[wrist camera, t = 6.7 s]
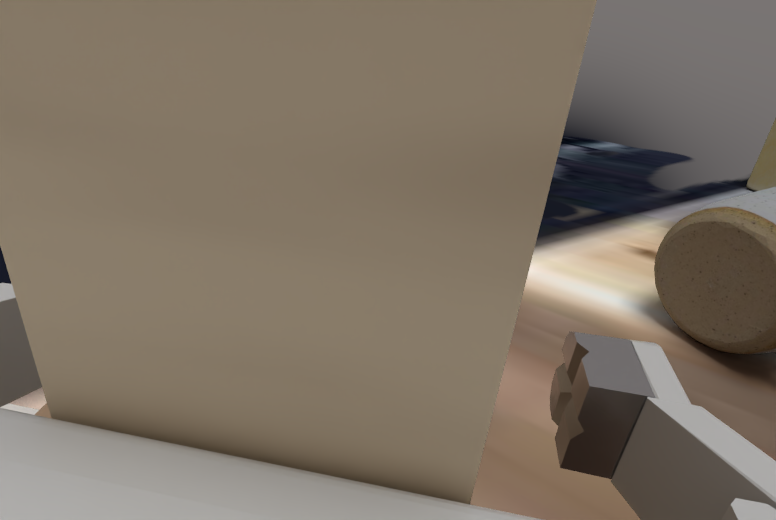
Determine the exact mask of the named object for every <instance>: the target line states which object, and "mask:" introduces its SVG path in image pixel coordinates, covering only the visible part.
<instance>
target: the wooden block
mask: <svg viewBox="0 0 776 520" xmlns="http://www.w3.org/2000/svg"><path fill="white" fill-rule="evenodd" d="M596 1H597V0H0V246H1V249H2V253H3V256H4V259H5V263H6V266H7V269H8V273H9V276H10V280H11V283H12V286H13V290H14V293H15V296H16V300H17V303H18V307H19V310H20V313H21V317H22V320H23V323H24V327H25V330H26V334H27V337H28V340H29V344H30V347H31V350H32V354H33V357H34V361H35V364H36V367H37V371H38V374H39V378H40V381H41V384H42V388H43V391H44V394H45V398H46V401H47V405H48V408H49V411H50V415H51V418H52V419H57V420H61V421H66V422H71V423H76V424H81V425H86V426H91V427H95V428H100V429H105V430H110V431H115V432H120V433H124V434H129V435H134V436H139V437H144V438H149V439H153V440H158V441H163V442H168V443H173V444H178V445H183V446H188V447H193V448H197V449H202V450H207V451H212V452H217V453H222V454H227V455H232V456H237V457H242V458H246V459H251V460H256V461H261V462H266V463H271V464H276V465H281V466H286V467H290V468H295V469H300V470H305V471H310V472H315V473H320V474H325V475H330V476H334V477H339V478H344V479H349V480H354V481H359V482H363V483H368V484H373V485H378V486H383V487H388V488H392V489H397V490H402V491H407V492H412V493H417V494H421V495H426V496H431V497H436V498H441V499H446V500H450V501H455V502H460V503H465V504H470V501H471V497H472V493H473V489H474V485H475V481H476V477H477V473H478V469H479V465H480V461H481V457H482V453H483V449H484V445H485V441H486V437H487V433H488V430H489V426H490V422H491V418H492V414H493V410H494V406H495V402H496V398H497V394H498V390H499V386H500V382H501V378H502V374H503V370H504V366H505V362H506V358H507V354H508V350H509V346H510V342H511V338H512V334H513V330H514V326H515V323H516V319H517V315H518V311H519V307H520V303H521V299H522V295H523V291H524V287H525V283H526V279H527V275H528V271H529V267H530V263H531V259H532V255H533V251H534V247H535V243H536V239H537V235H538V231H539V227H540V223H541V219H542V215H543V212H544V208H545V204H546V200H547V196H548V192H549V188H550V184H551V180H552V176H553V172H554V168H555V164H556V160H557V156H558V152H559V148H560V144H561V140H562V136H563V132H564V128H565V124H566V120H567V116H568V112H569V108H570V104H571V100H572V97H573V92H574V88H575V85H576V81H577V77H578V73H579V69H580V65H581V61H582V57H583V53H584V49H585V45H586V41H587V37H588V33H589V29H590V25H591V21H592V17H593V13H594V9H595V5H596Z"/></svg>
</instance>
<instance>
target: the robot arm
mask: <svg viewBox="0 0 776 520" xmlns="http://www.w3.org/2000/svg"><path fill="white" fill-rule="evenodd" d="M562 352H563V357H564V362H565V363H564V364H562V365H561V366H559V367H558V368H556V370H555V374H554V378H553V381H552V386H551V394H550V410H551V417H552V420H553V421H554V422H555V423H556V424H557V425H558V426H559V427H558V430H557V433H556V436H555V441H556V447H557V453H558V458H559V464H560V468H563V469H568V470H572V471H577V472H581V473H586V474H590V475H595V476H599V477H604V478H608V479H612V480H611V482H612V484H613V485H614V486H615V487H616V489H617V490H618V491H619V492H620V494H621V495H622V496H623V497H624V499H625V500H626V501H627V503H628V504H629V505H630V506H631V508H632V509H633V510H634V511H635V513H636V514H637V515H638V516H639V518H640V519H641V520H776V461H775V460H773V459H772V458H771V457H769V456H768V455H767V454H765V453H764V452H762V451H761V450H760V449H758V448H757V447H756V446H754V445H753V444H752V443H750V442H749V441H747V440H746V439H745V438H743V437H742V436H741V435H739V434H738V433H737V432H735V431H734V430H732V429H731V428H730V427H728V426H727V425H726V424H724V423H723V422H721V421H720V420H719V419H717V418H716V417H715V416H713V415H712V414H711V413H709V412H708V411H706V410H705V409H704V408H702V407H701V406H695V405H691V403H690V401H689V399H688V397H687V395H686V393H685V391H684V390H683V388H682V386H681V384H680V382H679V380H678V378H677V376H676V374H675V373H674V371H673V369H672V367H671V365H670V363H669V361H668V359H667V357H666V356H665V354H664V352H663V350H662V348H661V347H660V346H659V345H658V344H656V343H651V342H643V341H635V340H628V339H620V338H613V337H606V336H599V335H592V334H585V333H577V332H570V331H569V333H568V335H567V337H566V339H565V342H564V345H563V348H562ZM41 387H42V384H41V381H40V378H39V374H38V371H37V367H36V364H35V361H34V357H33V354H32V350H31V347H30V344H29V340H28V337H27V334H26V330H25V327H24V323H23V320H22V317H21V313H20V310H19V307H18V303H17V300H16V296H15V293H14V290H13V286H12V283H11V284H7V283H0V407H2V406H4V405H6V404H8V403H10V402H12V401H14V400H16V399H18V398H20V397H23V396H25V395H27V394H29V393H31V392H33V391H35V390H37V389H39V388H41ZM0 520H542V519H537V518H532V517H528V516H523V515H518V514H513V513H508V512H503V511H499V510H494V509H489V508H484V507H479V506H474V505H470V504H465V503H460V502H455V501H450V500H446V499H441V498H436V497H431V496H426V495H421V494H417V493H412V492H407V491H402V490H397V489H392V488H388V487H383V486H378V485H373V484H368V483H363V482H359V481H354V480H349V479H344V478H339V477H334V476H330V475H325V474H320V473H315V472H310V471H305V470H300V469H295V468H290V467H286V466H281V465H276V464H271V463H266V462H261V461H256V460H251V459H246V458H242V457H237V456H232V455H227V454H222V453H217V452H212V451H207V450H202V449H197V448H193V447H188V446H183V445H178V444H173V443H168V442H163V441H158V440H153V439H149V438H144V437H139V436H134V435H129V434H124V433H120V432H115V431H110V430H105V429H100V428H95V427H91V426H86V425H81V424H76V423H71V422H66V421H61V420H57V419H52V418H47V417H42V416H37V415H32V414H28V413H23V412H18V411H13V410H8V409H3V408H0Z"/></svg>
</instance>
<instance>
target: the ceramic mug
mask: <svg viewBox="0 0 776 520" xmlns="http://www.w3.org/2000/svg"><path fill="white" fill-rule="evenodd" d="M654 271H655V284H656V288H657V291H658V294H659V297H660V299H661V301H662V304H663V306H664V308H665V309H666V311H667V312H668V314H669V315H670V317H671V318H672V319H673V321H674V322H675V323H676V324H677V325H678V326H679V327H680V328H681V329H682V330H683V331H684V332H686V333H687V334H688V335H690V336H691V337H692V338H694V339H695V340H697V341H699V342H700V343H702V344H704V345H707V346H709V347H711V348H713V349H716V350H719V351H723V352H729V353H734V354H735V353H740V354H754V353H768V352H774V353H776V187H772V188H768V189H764V190H760V191H756V192H753V193H749V194H746V195H742V196H738V197H734V198H730V199H725V200H722V201H719V202H715V203H712V204H709V205H707V206H705V207H703V208H700V209H699V210H697V211H695V212H693V213H691V214H690V215H688V216H686V217H685V218H683V219H682V220H680V221H679V222H678V223H677V224H676V225H674V226H673V227H672V228H671V229H670V231H669V232H668V233H667V234H666V236H665V237H664V239H663V241H662V242H661V244H660V246H659V249H658V252H657V255H656V259H655V266H654Z"/></svg>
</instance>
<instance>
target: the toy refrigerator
mask: <svg viewBox="0 0 776 520" xmlns="http://www.w3.org/2000/svg"><path fill="white" fill-rule="evenodd" d="M746 187H747V188H749V189H752V190H755V191H760V190H764V189H768V188H772V187H776V119H775V121H774V123H773V125H772V127H771V130H770V132H769V135H768V137H767V139H766V141H765V144H764V146H763V148H762V150H761V153H760V155H759V157H758V160H757V162H756V164H755V166H754V168H753V171H752V173H751V175H750V178H749V180H748V182H747V186H746Z"/></svg>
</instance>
